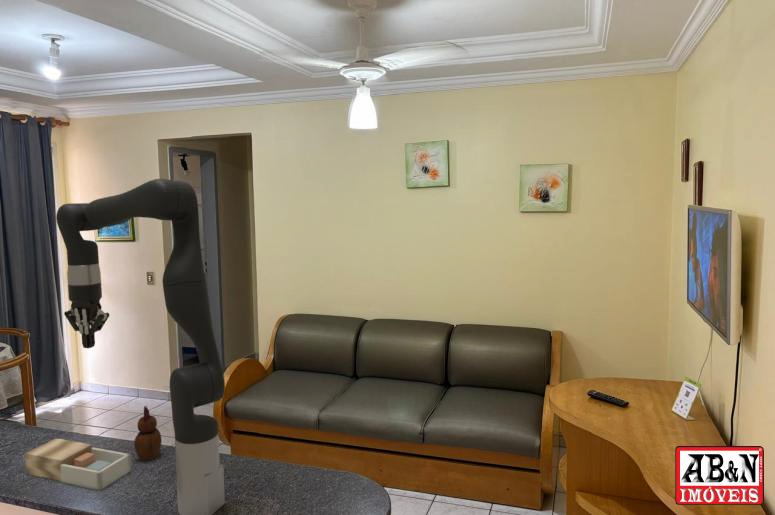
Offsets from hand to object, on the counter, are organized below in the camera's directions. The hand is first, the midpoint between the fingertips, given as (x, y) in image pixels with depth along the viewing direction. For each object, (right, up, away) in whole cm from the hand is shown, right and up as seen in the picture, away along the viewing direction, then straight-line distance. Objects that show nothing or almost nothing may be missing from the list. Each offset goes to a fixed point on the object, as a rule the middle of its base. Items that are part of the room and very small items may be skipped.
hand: (88, 347), depth 143 cm
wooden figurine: (+13, -31, +6) cm, 34 cm away
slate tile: (+5, -29, -5) cm, 30 cm away
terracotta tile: (0, -29, -3) cm, 29 cm away
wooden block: (-7, -31, -1) cm, 32 cm away
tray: (+5, -32, -5) cm, 32 cm away
